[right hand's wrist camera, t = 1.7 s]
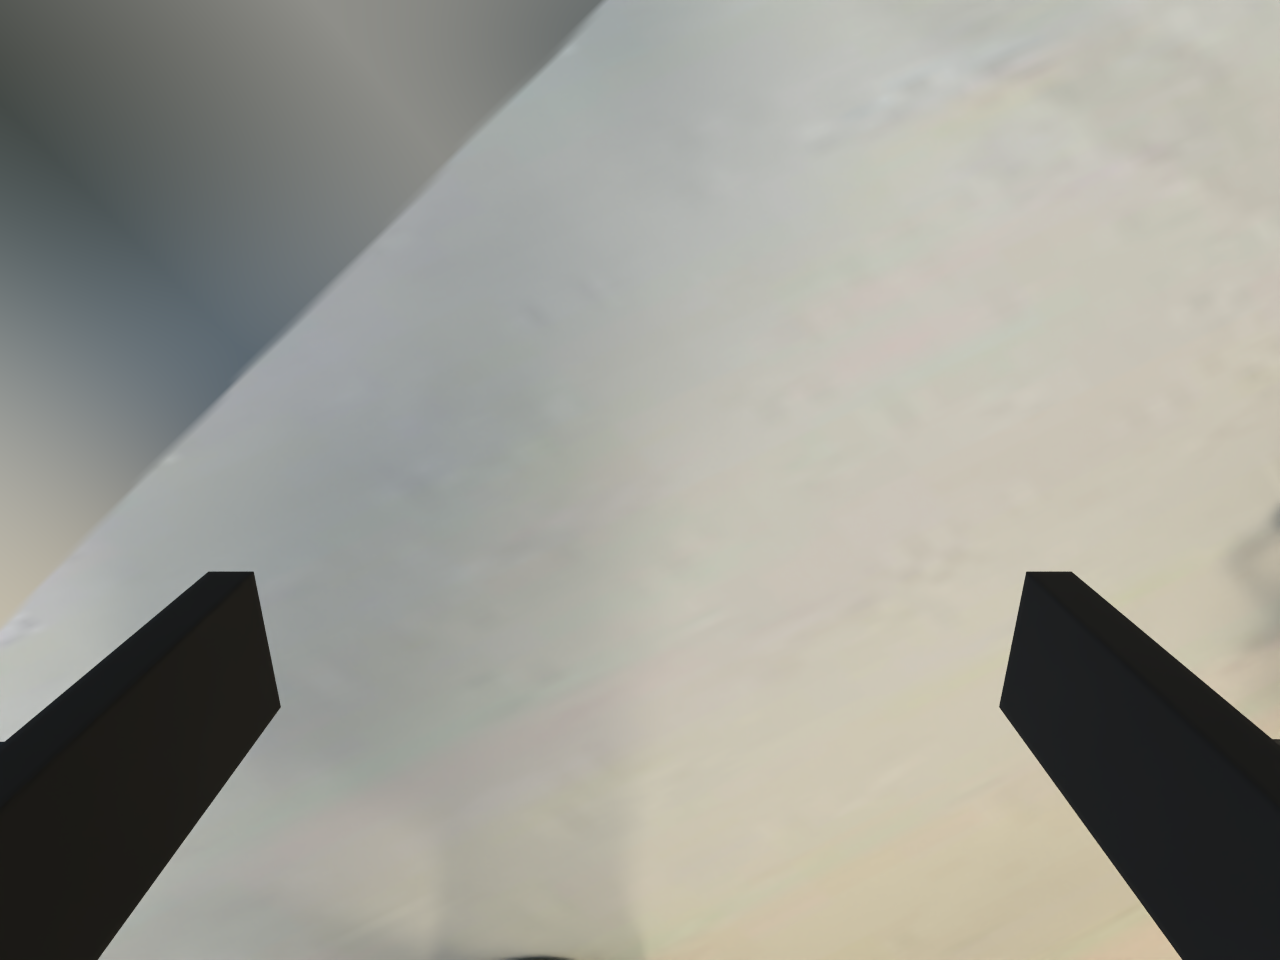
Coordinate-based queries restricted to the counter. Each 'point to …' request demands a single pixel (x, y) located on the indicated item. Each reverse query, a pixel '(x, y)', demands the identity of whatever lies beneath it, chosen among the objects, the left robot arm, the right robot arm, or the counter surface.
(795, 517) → the counter surface
